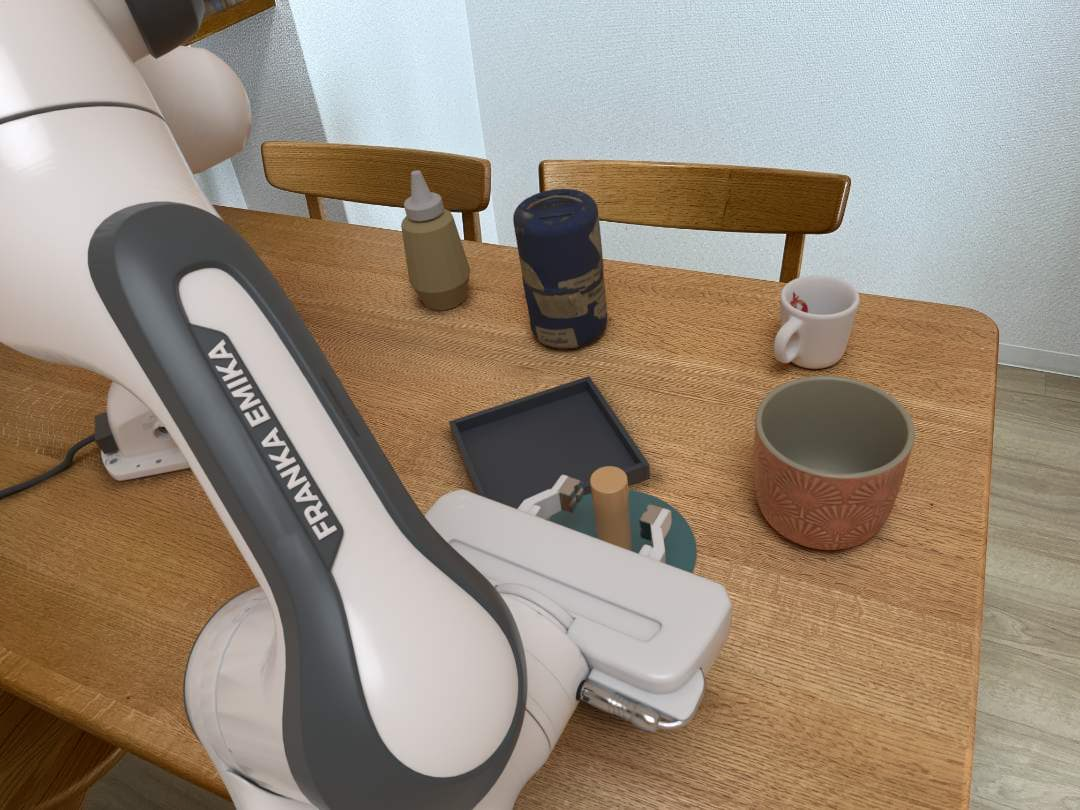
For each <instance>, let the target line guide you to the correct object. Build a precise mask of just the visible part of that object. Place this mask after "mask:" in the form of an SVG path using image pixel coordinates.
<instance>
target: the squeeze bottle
mask: <svg viewBox="0 0 1080 810" xmlns="http://www.w3.org/2000/svg"><path fill="white" fill-rule="evenodd" d="M410 194H411V195H410V196H409V197H408V198H406V199H405V201H404V203H403V208H404V212H405V215H406V216H404V217H403V219H402V220H401V224H400V227H401V233H402V242H403V248H404V255H405V261H406V266H407V267H406V268H407V274H408V282H409V284H410V286H411V288H412V290H414V292H415V294H416V295H417V296H418V297H419V299H420V301H421V302H422V303H423V305H424V307H426V308H428V309H429V310H433V311H446V310H450V309H454V308H456V307H458V306H459V305H461V304H462V303H463V302H464V301H465V300H466V299H467V295H468V289H469V281H470V276H471V266H470V264H469V261H468V258H467V255H466V251H465V249H464V246H463V242H462V240H461V236H460V233H459V230H458V227H457V224H456V221H455V218H454V215H453V214H452V212H451V210H448V209H446V208H445V207H444V203H443V199H442V196H441V195H440V194H438V193H437V192H433V191H432V192H431V191H430V188H429V187H428V184H427V182H426V180H425V178H424V176H423V174H422V171H421V170H417V169H416V170H413V171H411V173H410Z"/></svg>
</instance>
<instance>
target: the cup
mask: <svg viewBox="0 0 1080 810" xmlns="http://www.w3.org/2000/svg"><path fill="white" fill-rule="evenodd" d="M860 302H861V298H860V294H859V291H858V290H857V288H855V286H854V285H852V284H851V283H849V282H848V281H846V280H845V279H842V278H839V277H835V276H831V275H826V274H825V275H824V274H811V275H803V276H800V277H797V278H795V279H792V280H791V281H789V282H787V283H786V284H785V285H784V286H783V287H782V289H781V290H780V294H779V311H780V313H779V314H780V328H779V329H778V331H777V333H776V335H775V338H774V340H773V356H774V358H775V360H776V361H777V362H779V363H782V364H789V363H793V365H796V366H799V367H801V368H805V369H811V370H813V369H815V370H817V369H824V368H829V367H831V366H834V365H835V364H837V363H838V362H839V361H840V360H841V359H842V357H843V356H844V354H845V352H846V350H847V346H848V344H849V339H850V337H851V333H852V329H853V327H854V323H855V319H856V316H857V313H858V310H859V307H860V306H859V305H860Z"/></svg>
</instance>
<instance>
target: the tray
mask: <svg viewBox="0 0 1080 810" xmlns="http://www.w3.org/2000/svg"><path fill="white" fill-rule="evenodd" d="M448 424H449V428H450V432H451V435H452V438H453V441H454V443H455V446H456V448H457V450H458V452H459V455H460V457H461V460H462V462H463V465H464V467H465V469H466V471H467V474H468V476H469V479H470V482H471V483H472V486H473V488H474V491H475V494H477V495H480V496H483V497H485V498H488V499H491V500H494V501H496V502H499V503H502V504H504V505H507V506H510V507H513V508H515V509H518V507H519V506H520V505H521V503H522V502H523V501H524V500H525V499H528V498H530V497H532V496H534V495H537V494H539V493H541V492H543V491H546V490H548V489H552V487H553V486H554V484H555V483H556V482H557V480H558V479H559V478H560V476H561V475H566V476H569V477H572V478H575V479H577V480H580V481H582V482H583V485H582V488H583V489H584V495H587V494H590V493H591V486H590V478H591V475H592V474H593V473H594V472H595V471H596V470H597V469H599V468H601V467H606V466H614V467H617V468H620V469H621V470H623V471H624V472H625V474H626V475H627V480H628V487H630V486H632V485H635V484H638V483H640V482H644V481H646V480H650V479H651V474H650V471H651V470H650V463H649V462H648V460H647V459H646V457H645V456H644V455H643V453H642V451H641V450H640V448H639V447H638V446H637V444H636V442H635V441H634V439H633V438H632V437H631V435H630V434H629V432H628V431H627V429H626V428H625V426H624V424H623V423H622V422H621V420H620V418H619V417H618V415H617V414H616V413H615V412H614V410H613V408H612V407H611V406H610V404H609V403H608V401H607V400H606V398H605V397H604V395H603V394H602V392H601V391H600V389H599V388H598V386H597V384H595V382H594V381H593V379H592V377H591V376H590V375H588V376H585V377H582V378H578V379H576V380H572V381H569V382H566V383H563V384H560V385H557V386H554V387H550V388H548V389H545V390H541V391H538V392H535V393H532V394H528V395H526V396H523V397H520V398H517V399H513V400H511V401H508V402H505V403H502V404H498V405H495V406H492V407H489V408H485V409H483V410H480V411H476V412H474V413H469V414H468V415H465V416H461V417H458V418H455V419H452V420H449V421H448ZM584 495H583V496H584Z"/></svg>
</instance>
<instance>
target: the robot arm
mask: <svg viewBox="0 0 1080 810" xmlns="http://www.w3.org/2000/svg"><path fill="white" fill-rule="evenodd" d="M205 11H206V5H205V1H204V0H0V343H1V344H3V345H5V346H6V347H9V348H11V349H13V350H14V351H17V352H19V353H22V354H24V355H26V356H29V357H31V358H35V359H38V360H41V361H44V362H48V363H53V364H56V365H62V366H68V367H76V368H81V369H84V370H87V371H90V372H92V373H95V374H96V375H99V376H102V377H104V378H106V379H107V380H110V381H111V384H110V386H109V390H108V392H107V398H106V411H104V412H101V413H99V414H95V415H94V433H92V434H91V435H88V436H87V437H84V438H83V439H82V440H79V441H78V442H76V443H75V444H74V445H73V446H71V448H69V450H68V451H67V452H66V454H65V458H64V460H63V461H61V462H60V463H59V464H58V465H57V466H55V467H54V468H52V469H50V470H49V471H47V472H45V473H43V474H41V475H39V476H37V477H34V478H31V479H29V480H27V481H24V482H21V483H18V484H16V485H13V486H9V487H7V488H4V489H0V499H1V498H4V497H7V496H9V495H12V494H15V493H18V492H21V491H24V490H26V489H29V488H32V487H33V486H36V485H38V484H40V483H42V482H44V481H46V480H48V479H50V478H53V477H54V476H56V475H58V474H60V473H61V472H63V471H64V470H65V469H67V468H68V467H69V466H70V465H72V462H73V461H74V458H75V455H76V454H77V453H78V451H80V450H81V449H82V448H84V447H86V446H88V445H91V444H92V443H93V442H95V444H97V446H98V448H99V449H100V456H101V460H102V464H103V465H104V468H105V469H106V472H107V473H108V474H109V476H110V477H111V478H113V479H114V480H115V481H118V482H119V481H120V482H122V481H129V480H134V479H141V478H145V477H150V476H155V475H160V474H165V473H171V472H176V471H181V470H186V469H190V470H191V472H192V473H193V475H194V476H195V478H196V480H197V482H198V484H199V485H200V487H201V489H202V491H203V492H204V494H205V496H206V497H207V499H208V500H209V502H210V504H211V505H212V507H213V509H214V510H215V512H216V514H217V515H218V517H219V518H220V521H221V522H222V524H223V525H224V527H225V529H226V531H227V532H228V534H229V536H230V538H231V539H232V541H233V542H234V544H235V546H236V548H237V549H238V551H239V552H240V554H241V556H242V557H243V559H244V561H245V562H246V565H247V566H248V568H249V569H250V571H251V573H252V574H253V576H254V578H255V580H256V581H257V583H258V585H256V586H252V587H250V588H247V589H245V590H243V591H242V592H240V593H238V594H236V595H234V596H233V597H232V598H230V599H229V600H227V601H226V602H225V603H224V604H223V605H221V606H220V607H219V608H218V609H217V610H216V611H215V612H214V613H213V614H212V615H211V616H210V618H209V619H208V620H207V622H205V624H204V625H203V627H202V628H201V630H200V631H199V633H198V635H197V637H196V639H195V641H194V642H193V645H192V646H191V649H190V652H189V655H188V657H187V662H186V664H185V669H184V673H183V674H184V675H183V684H182V685H183V687H182V696H183V705H184V711H185V715H186V718H187V721H188V725H189V726H190V729H191V731H192V733H193V734H194V736H195V738H196V739H197V741H198V743H199V744H200V745H201V746H202V747H203V748H204V751H205V752H206V754H207V756H208V757H209V759H210V761H211V764H213V766H214V768H215V770H216V772H217V773H218V775H219V777H220V779H221V780H222V782H223V784H224V787H225V788H226V790H227V792H228V794H229V796H230V798H231V801H232V802H233V805H234V807H235V810H514V807H515V805H516V802H517V799H518V797H519V795H520V793H521V791H522V790H523V788H524V787H525V785H526V784H527V783H528V781H529V780H530V779H531V778H532V777H533V776H535V774H536V773H538V771H539V770H540V769H542V767H543V766H544V765H545V764H546V762H547V760H548V759H549V757H550V756H551V753H552V752H553V750H554V748H555V746H556V745H557V743H558V741H559V740H560V737H561V735H562V734H563V732H564V731H565V729H566V727H567V725H568V723H569V722H570V720H571V719H572V716H573V714H574V712H575V711H576V709H577V707H578V706H579V703H580V702H583V703H585V704H587V705H590V706H592V707H593V708H597V709H599V710H601V711H603V712H605V713H607V714H611V715H615V716H616V717H619V718H622V719H624V720H626V721H628V722H630V724H632V725H633V726H635V727H637V728H639V729H641V730H643V731H646V732H650V733H656V732H657V730H658V729H660V730H668V731H669V730H671V731H672V730H676V729H680V728H683V727H685V726H687V725H688V724H689V723H690V722H691V721H692V720H693V719H694V717H695V716H696V714H697V712H698V710H699V708H700V706H701V703H702V701H703V700H704V697H705V695H706V691H707V679H706V676H707V675H708V673H709V672H710V670H711V669H712V667H713V665H714V664H715V663H716V661H717V659H718V657H719V656H720V654H721V653H722V650H723V649H724V647H725V645H726V643H727V641H728V639H729V636H730V634H731V631H732V625H733V617H734V605H733V602H732V599H731V597H730V594H729V592H728V590H727V588H726V586H724V585H723V584H721V583H720V582H717V581H715V580H711V579H709V578H706V577H703V576H700V575H698V574H695V573H694V574H692V573H690V572H687V571H684V570H682V569H679V568H676V567H673V566H671V565H668V564H666V562H665V546H664V538H665V537H666V535H667V533H668V531H669V529H670V526H671V522H672V517H671V510H668V509H665V508H662V507H659V506H656V505H653V504H649V505H648V506H647V511H646V512H644V513H643V514H642V516H641V518H640V519H639V524H640V528H641V530H640V537H641V538H643V539H646V540H648V541H651V543H652V547H651V546H649V545H643V547H642V549H641V550H640V552H639V554H638V553H635V552H632V551H630V550H627V549H624V548H621V547H619V546H616V545H613V544H611V543H608V542H605V541H602V540H600V539H597V538H594V537H592V536H589V535H586V534H583V533H581V532H578V531H575V530H573V529H570V528H567V527H564V526H562V525H559V524H556V523H553V522H551V521H548V520H549V519H550V518H551V517H552V516H553V515H554V514H556V513H558V512H560V511H561V510H564V511H567V512H570V513H573V511H574V510H575V509H576V507H577V503H579V502H580V501H581V500H582V498H583V495H584V489H583V488H582V485H583V482H582V481H580V480H577V479H575V478H572V477H569V476H566V475H561V476H560V478H559V479H558V480H557V482H556V483H555V484H554V486H553V487H552V489H548V490H546V491H543V492H541V493H539V494H537V495H534V496H532V497H530V498H528V499H525V500H524V501H523V502H522V503H521V505H520V506H519V507H518V509H515V508H513V507H510V506H507V505H504V504H502V503H499V502H496V501H494V500H491V499H488V498H485V497H483V496H480V495H477V493H474V492H471V491H469V490H466V489H463V488H459V489H455V490H452V491H448V492H447V493H444V494H442V495H441V496H440V497H439V498H437V500H436V501H435V502H434V503H432V506H430V508H429V509H428V510H427V511H426V513H425V514H424V513H423V512H422V511H421V509H420V508H419V506H418V505H417V504H416V502H415V501H414V499H413V497H412V496H411V495H410V493H409V491H408V490H407V488H406V486H405V485H404V484H403V482H402V479H401V478H400V477H399V475H398V474H397V472H396V471H395V469H394V466H393V465H392V463H391V462H390V460H389V459H388V457H387V455H386V453H385V452H384V451H383V449H382V447H381V446H380V444H379V442H378V440H377V438H376V437H375V435H374V434H373V432H372V430H371V429H370V427H369V426H368V425H367V423H366V421H365V419H364V418H363V416H362V414H361V413H360V411H359V410H358V408H357V406H356V404H355V402H354V401H353V400H352V398H351V396H350V395H349V393H348V391H347V390H346V388H345V386H344V385H343V383H342V381H341V380H340V378H339V376H338V375H337V374H336V372H335V370H334V368H333V367H332V365H331V363H330V362H329V360H328V359H327V357H326V355H325V354H324V352H323V350H322V349H321V347H320V346H319V344H318V342H317V340H316V339H315V337H314V336H313V334H312V332H311V330H310V329H309V327H308V326H307V324H306V323H305V321H304V320H303V318H302V316H301V315H300V313H299V312H298V309H296V307H295V305H294V303H293V302H292V301H291V299H290V298H289V296H288V295H287V293H286V292H285V290H284V289H283V287H282V286H281V284H280V283H279V281H278V279H276V277H275V276H274V274H273V273H272V272H271V270H270V269H269V267H268V266H267V265H266V263H265V262H264V261H263V260H262V258H261V257H260V256H259V254H258V253H257V252H256V251H255V249H254V248H253V247H252V246H251V245H250V244H249V242H248V241H247V240H246V239H245V238H244V237H243V236H242V235H241V234H240V233H239V232H238V231H237V230H236V229H235V228H233V227H232V226H231V225H230V224H228V223H227V222H226V221H225V220H224V219H223V218H222V216H221V215H220V213H218V212H217V210H216V208H215V207H214V206H213V204H212V202H211V201H210V199H209V198H208V196H207V194H206V193H205V191H204V189H203V188H202V186H201V185H200V184H199V183H200V182H199V181H198V180H197V178H196V176H195V175H197V174H201V173H202V172H204V171H207V170H209V169H211V168H213V167H215V166H217V165H219V164H221V163H223V162H225V161H227V160H228V159H230V158H232V157H234V156H237V155H238V154H240V153H242V152H243V151H244V150H245V148H246V146H247V144H248V141H249V139H250V136H251V135H250V134H251V131H252V123H253V122H252V121H253V119H252V118H253V117H252V107H251V103H250V102H251V101H250V98H249V96H248V94H247V91H246V88H245V86H244V85H243V83H242V80H241V79H240V78H239V77H238V75H237V73H236V72H235V71H234V70H233V69H232V67H230V65H229V64H228V63H227V62H225V61H224V60H223V59H222V58H221V57H219V56H218V55H216V54H215V53H214V52H212V51H210V50H208V49H207V48H204V47H194V46H185V45H184V44H185V43H186V42H188V41H190V40H191V39H192V38H193V37H195V35H197V34H198V33H199V32H200V27H201V25H202V21H203V18H204V14H205ZM547 519H548V520H547ZM662 719H664V720H662Z"/></svg>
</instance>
